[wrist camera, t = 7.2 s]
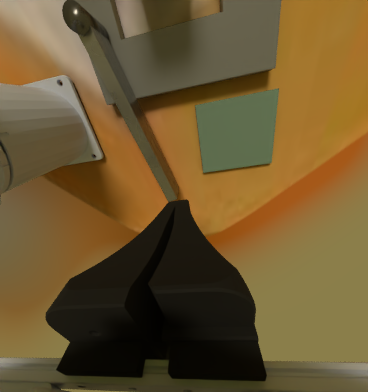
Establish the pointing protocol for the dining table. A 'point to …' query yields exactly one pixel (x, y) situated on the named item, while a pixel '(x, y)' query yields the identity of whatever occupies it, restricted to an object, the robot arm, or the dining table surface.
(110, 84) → the retaining bar
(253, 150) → the pad
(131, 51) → the dock plate
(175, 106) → the dining table surface
